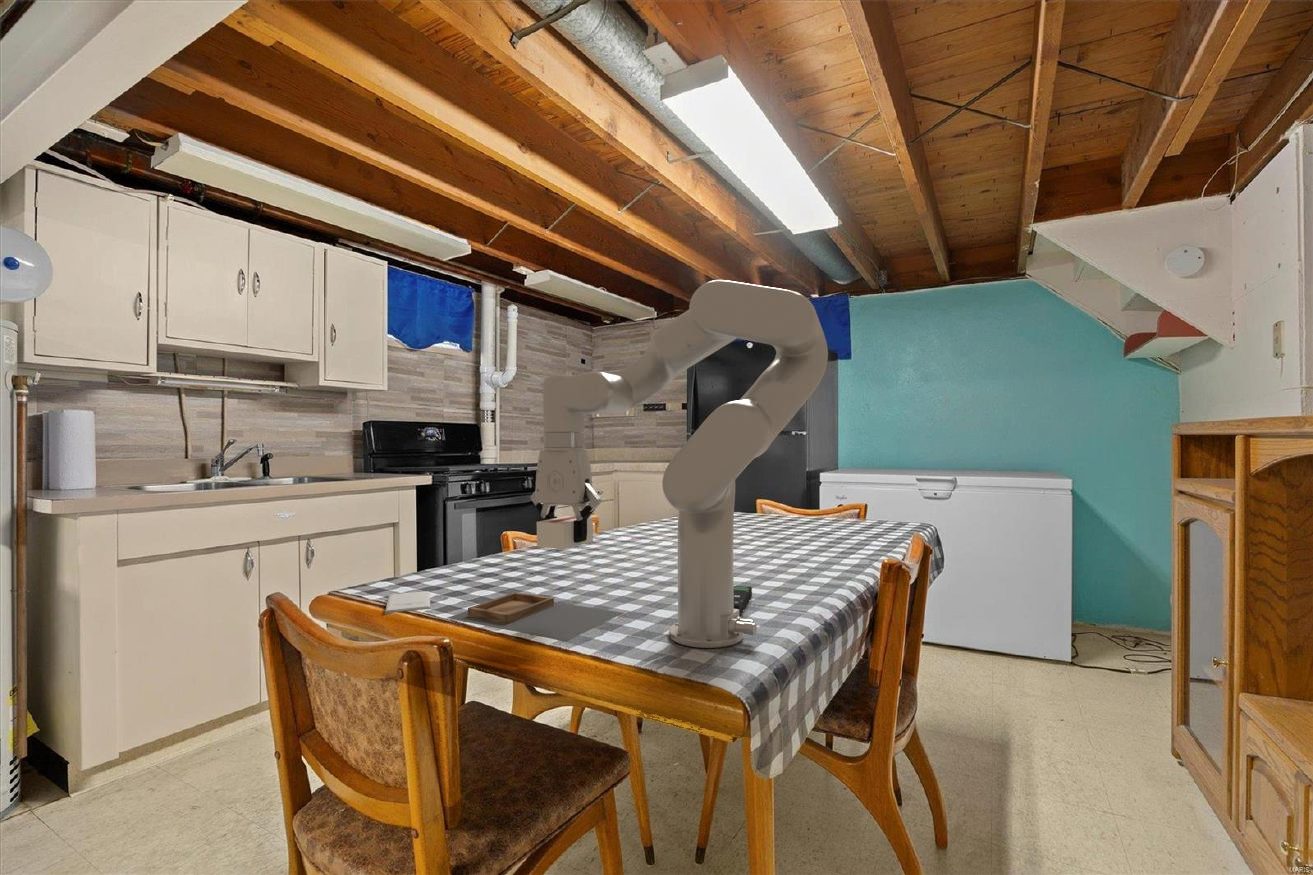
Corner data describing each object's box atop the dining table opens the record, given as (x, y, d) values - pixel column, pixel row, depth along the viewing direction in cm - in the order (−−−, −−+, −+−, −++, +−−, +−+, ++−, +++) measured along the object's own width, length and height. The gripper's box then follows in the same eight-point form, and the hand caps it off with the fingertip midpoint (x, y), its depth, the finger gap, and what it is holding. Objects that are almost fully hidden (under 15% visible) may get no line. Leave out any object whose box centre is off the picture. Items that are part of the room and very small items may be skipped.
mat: (623, 615, 116) (623, 612, 116) (566, 643, 101) (566, 640, 101) (512, 597, 130) (512, 595, 130) (446, 620, 114) (446, 617, 114)
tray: (553, 606, 122) (553, 598, 122) (508, 624, 110) (508, 615, 110) (515, 599, 126) (515, 592, 126) (467, 616, 115) (467, 608, 115)
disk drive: (741, 620, 115) (752, 598, 129) (741, 605, 115) (752, 585, 129) (688, 615, 118) (704, 595, 132) (688, 601, 118) (704, 582, 132)
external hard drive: (430, 598, 132) (430, 613, 121) (388, 602, 129) (385, 618, 118) (429, 590, 132) (430, 605, 121) (388, 594, 129) (385, 609, 118)
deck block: (563, 549, 107) (563, 522, 107) (536, 546, 109) (536, 520, 109) (593, 541, 114) (592, 516, 114) (567, 539, 117) (567, 514, 117)
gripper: (514, 442, 113) (515, 539, 113) (591, 442, 104) (592, 547, 104) (540, 442, 119) (541, 534, 119) (614, 441, 111) (615, 540, 111)
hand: (565, 539), depth 112 cm, fingers closed on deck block, 6 cm apart
